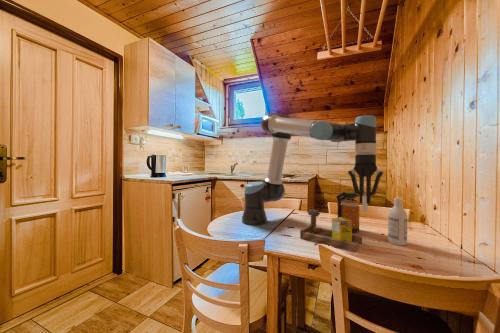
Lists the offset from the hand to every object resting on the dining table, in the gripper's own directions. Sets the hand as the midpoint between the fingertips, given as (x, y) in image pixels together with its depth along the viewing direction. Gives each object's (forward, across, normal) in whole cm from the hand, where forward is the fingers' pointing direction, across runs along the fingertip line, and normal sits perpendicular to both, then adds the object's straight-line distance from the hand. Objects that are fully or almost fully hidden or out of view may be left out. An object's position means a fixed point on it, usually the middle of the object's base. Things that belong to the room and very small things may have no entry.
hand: (364, 211), depth 89 cm
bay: (+16, -15, +2) cm, 22 cm away
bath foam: (+16, +10, +16) cm, 25 cm away
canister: (+16, -12, +20) cm, 28 cm away
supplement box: (+16, -9, 0) cm, 18 cm away
